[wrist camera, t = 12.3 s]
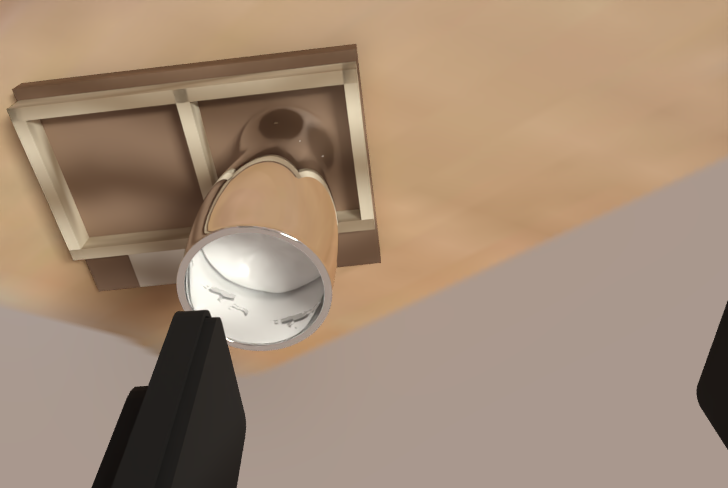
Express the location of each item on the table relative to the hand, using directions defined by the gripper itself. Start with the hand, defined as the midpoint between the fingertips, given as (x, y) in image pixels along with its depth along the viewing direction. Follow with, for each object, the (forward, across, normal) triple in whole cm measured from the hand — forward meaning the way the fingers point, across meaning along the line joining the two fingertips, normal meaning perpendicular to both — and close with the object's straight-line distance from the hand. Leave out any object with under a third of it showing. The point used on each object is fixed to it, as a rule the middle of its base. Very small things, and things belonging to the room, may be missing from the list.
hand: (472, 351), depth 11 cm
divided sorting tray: (+28, +12, +10) cm, 32 cm away
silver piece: (+27, +6, +8) cm, 29 cm away
